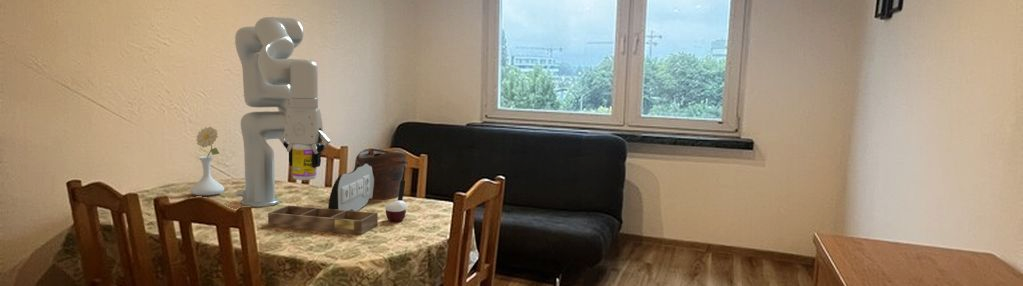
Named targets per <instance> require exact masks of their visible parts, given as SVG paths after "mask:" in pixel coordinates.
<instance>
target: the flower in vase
mask: <svg viewBox="0 0 1023 286" xmlns="http://www.w3.org/2000/svg"><path fill="white" fill-rule="evenodd" d="M218 137H219V136H218V130H217V129H216V128H214V127H212V126H208V127H207V126H206V127H204V129H203V128H202V129H200V131H199V132H198V134H197V135H196V145H198V146H199V149H200V150H201V151H203V152H205V153H206V154H207V155H201V156H198V159H199V160H200V161H201V164H202V171H203V173H202V177H201V178H200V179H199V180H198V181H197V182H195V184H194V185H192V186H191V188H189V192H190V193H191V194H193V195H196V196H214V195H217V194H220V193H223V192H224V190H225V187H224V186H223V185H222V184H221V183H220V182H218V181H217V180H216V179H214V178H213V177H212V174H211V163H212V160H213V159H214V157H215V155H220V151H219V150H218V148H216V147H214V148H213V145H214V144H215V143H214V142H216V141H217V138H218ZM208 146H209V147H210V150H209V151H207V150H205V149H204V148H207V147H208ZM210 154H211V155H210Z"/></svg>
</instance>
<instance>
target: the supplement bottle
mask: <svg viewBox="0 0 1023 286" xmlns="http://www.w3.org/2000/svg"><path fill="white" fill-rule="evenodd" d="M312 154H314V151H313V149H312V147H311V145H303V144H293V146H292V166H291V167H292V170H291V171H292V172H291V173H292V178H293V179H294V180H297V181H298V180H299V181H310V180H314V179H315V178H317V167H316V168H313V167H312Z"/></svg>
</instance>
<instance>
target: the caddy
mask: <svg viewBox="0 0 1023 286" xmlns="http://www.w3.org/2000/svg"><path fill="white" fill-rule="evenodd" d="M267 217H268V218H267V226H268V227H272V228H283V229H295V230H297V229H298V230H304V231H305V230H306V231H317V232H325V233H326V232H327V233H328V232H329V233H339V234H347V235H348V234H350V235H351V234H352V235H358V236H359V235H364V234H366V233H367V232H369V231H371V230H372V229H373V228H376V227H378V212H373V211H372V212H369V211H360V210H358V211H350V210H338V209H328V208H325V207H324V208H323V207H322V208H321V207H315V206H314V207H311V206H300V205H286V206H284V207H281V208H278V209H276V210H273V211H270V212H267Z"/></svg>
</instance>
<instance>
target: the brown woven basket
mask: <svg viewBox="0 0 1023 286" xmlns="http://www.w3.org/2000/svg"><path fill="white" fill-rule="evenodd" d="M364 164H368V165H369V166H371V167H372V172H373V176H374V187H373V197H372V199H375V200H386V199H394V198H398V194H399V188H400V181H401V180H403V177H404V171H405V166H406V165H408V164H409V162H408V159H407V155H406V153H405V152H404V151H402V150H392V151H388V150H384V149H381V148H380V149H379V148H371V147H370V148H365V149H363V150H361V151H360V152H359V153H358V154H357V155H356V158H355V161H354V168H353V170H354V169H355V168H358V167H361V166H363V165H364Z"/></svg>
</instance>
